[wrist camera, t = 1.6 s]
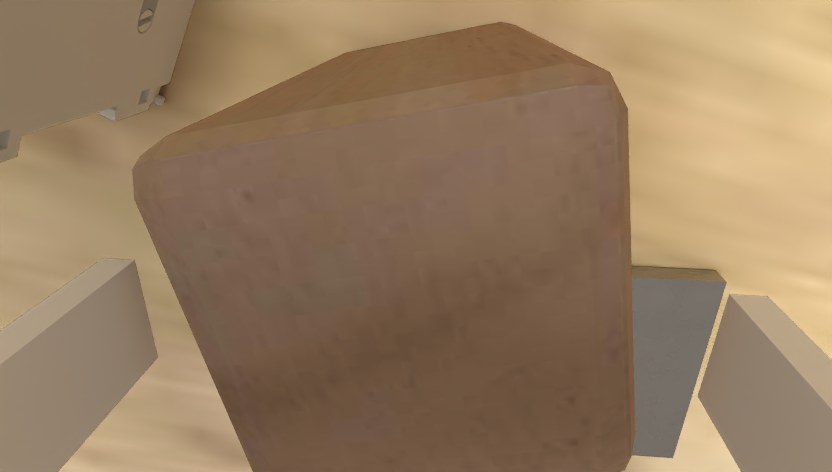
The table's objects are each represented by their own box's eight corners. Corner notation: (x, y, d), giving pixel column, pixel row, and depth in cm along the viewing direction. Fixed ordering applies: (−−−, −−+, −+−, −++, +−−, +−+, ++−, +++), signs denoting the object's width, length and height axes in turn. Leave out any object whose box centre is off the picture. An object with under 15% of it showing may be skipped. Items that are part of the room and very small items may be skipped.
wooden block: (537, 198, 30) (649, 495, 12) (372, 222, 32) (255, 519, 14) (518, 17, 26) (644, 58, 8) (331, 54, 28) (90, 158, 10)
